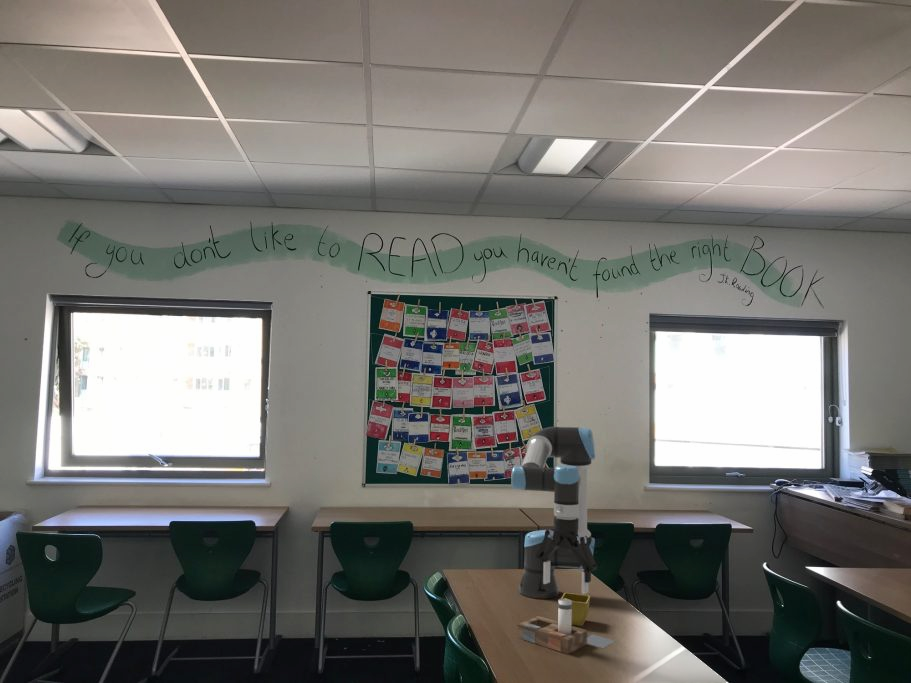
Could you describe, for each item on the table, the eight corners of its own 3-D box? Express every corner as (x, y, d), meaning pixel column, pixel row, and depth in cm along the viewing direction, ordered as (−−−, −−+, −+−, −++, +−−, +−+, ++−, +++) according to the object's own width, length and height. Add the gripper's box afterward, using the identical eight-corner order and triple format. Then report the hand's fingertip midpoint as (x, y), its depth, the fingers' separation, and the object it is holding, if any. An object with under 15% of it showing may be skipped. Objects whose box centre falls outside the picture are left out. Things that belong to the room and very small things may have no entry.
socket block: (537, 632, 210) (538, 615, 210) (587, 647, 198) (587, 629, 198) (517, 641, 201) (517, 623, 202) (567, 657, 189) (567, 638, 190)
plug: (562, 644, 200) (562, 597, 201) (573, 648, 197) (574, 600, 198) (554, 648, 197) (555, 600, 198) (566, 652, 194) (567, 603, 195)
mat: (592, 637, 206) (592, 634, 206) (615, 644, 201) (615, 641, 201) (579, 644, 200) (579, 640, 200) (602, 651, 195) (602, 648, 195)
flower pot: (590, 622, 220) (590, 595, 221) (586, 631, 212) (587, 602, 212) (564, 619, 223) (564, 592, 223) (559, 627, 214) (560, 599, 215)
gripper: (525, 512, 205) (524, 581, 204) (596, 525, 189) (595, 600, 187) (539, 509, 211) (538, 576, 210) (608, 521, 194) (608, 594, 193)
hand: (565, 587), depth 199 cm, fingers open, 13 cm apart
